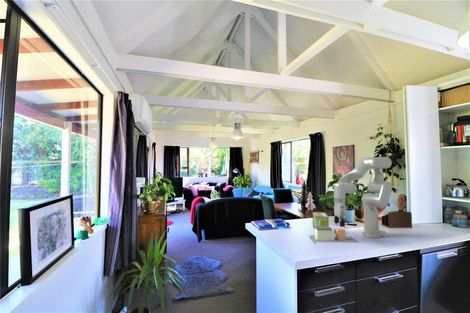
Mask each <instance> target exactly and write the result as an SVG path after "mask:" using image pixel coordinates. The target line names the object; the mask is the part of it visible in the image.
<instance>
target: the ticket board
mask: <svg viewBox="0 0 470 313" xmlns="http://www.w3.org/2000/svg"><path fill="white" fill-rule="evenodd" d="M308 237H309V239H310V240H311V241H312V243H314V244H315V245H316V244H317V243H345V244H346V243H347V244H348V243H351V244H352V243H353V244H355V243H356V244H357V243H358V244H360V241H358V240H357V239H356V238H354V237H353V236H351V235H345V240H338V239H336V229H334V228H333V227H331V226H315V232H314V235H308Z"/></svg>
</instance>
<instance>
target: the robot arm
mask: <svg viewBox="0 0 470 313" xmlns="http://www.w3.org/2000/svg"><path fill="white" fill-rule="evenodd" d="M392 163H393V162H392V160H391V158H390V157H388V156H382V157H381V156H380V157H379V156H377V157H376V156H375V157H374V156H373V157H372V156H371V157H369V156H368V157H362V158H360V160H359V161H358V162H357V163H356V165H355V166H354V168H353V169H352V170H351V171H349V172H348V173H346V174H344V175H343V176H342V177H341V178H340V179H339V180H338V181H337V182H336V183H334V184H333V203H334V206H333V209H334V210H333V213H334V214H333V215H334V216H333V217H334V219H333V220H334V224H339V228H345V227H346V218H347V208H346V194H349V195H350V194H354V193H357V190H358V188H357V185H356V184H354V183H352V182H353V181H357V180H361V179H363V178H364V177H365V175H366V174H367V172H368V171H370V178H369V181H368V183H367V190H368V193H364V194H363V195H362V197H361V203H362V206H363V231H362V232H361V235H362V236H364V237H367V238H374V239H375V238H376V239H380V238H381V237H382V234H383V235H384V234H385V235H386V234H387V232H386V231H385V230H380V229H379V228H380V226H379V211H378V208H379V209H385V208H386V207H388V205H389V202H390V199H391V194H392V190H393V188H392V187H393V186H392V184H391V182H389V181H386V180H384V177H385V176H384V172H383V171H382V169H383V170H385V169H389V168H390V167H391V166H392ZM369 192H371V193H369Z"/></svg>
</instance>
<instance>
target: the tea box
mask: <svg viewBox="0 0 470 313" xmlns="http://www.w3.org/2000/svg"><path fill="white" fill-rule="evenodd" d="M329 222H330V220H329V215H328V214H327V212H318V211H317V212H315V211H313V212H312V230H313V232H314V233H315V226H329ZM329 227H330V226H329Z"/></svg>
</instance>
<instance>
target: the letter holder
mask: <svg viewBox="0 0 470 313" xmlns="http://www.w3.org/2000/svg"><path fill="white" fill-rule="evenodd" d="M412 219H413V217H412V212H411V211H407V210H406V211H403V210H395V211H389V212H388V213H387V214H384V215H382V216H381V226H383V227H386V228H388V229H402V228H403V229H411V228H413V221H412Z"/></svg>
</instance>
